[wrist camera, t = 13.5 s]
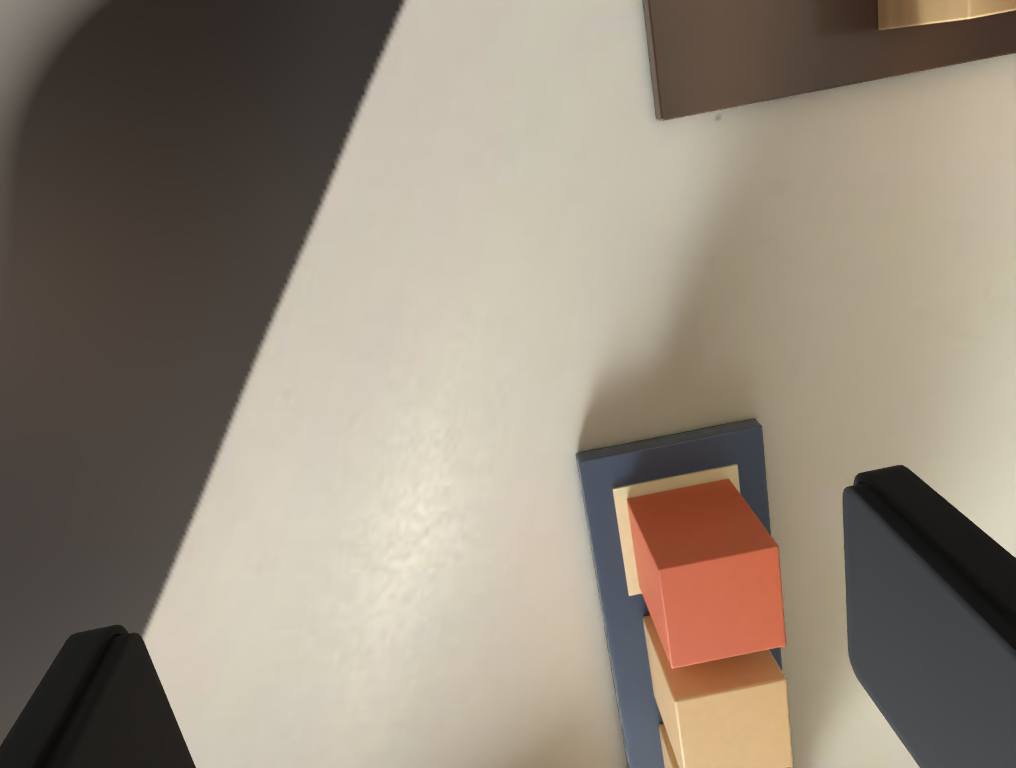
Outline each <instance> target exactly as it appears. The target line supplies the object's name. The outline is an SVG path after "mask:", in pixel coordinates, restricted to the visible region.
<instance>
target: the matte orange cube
mask: <svg viewBox="0 0 1016 768" xmlns="http://www.w3.org/2000/svg"><path fill="white" fill-rule="evenodd" d="M627 506H628V513H629V520H630V527H631V534H632V541H633V547H634V554H635V561H636V568H637V575H638V581H639V587H640V590H641V592H642V595H643V597H644V600H645V602H646V605H647V608H648V610H649V613H650V615H651V618H652V620H653V623H654V625H655V628H656V630H657V633H658V635H659V638H660V641H661V643H662V646H663V648H664V651H665V653H666V656H667V658H668V661H669V663H670V666H671V668H677V667H682V666H687V665H692V664H697V663H702V662H707V661H712V660H717V659H722V658H727V657H732V656H737V655H742V654H747V653H752V652H757V651H762V650H768V649H773V648H778V647H783V646H786V637H785V624H784V612H783V599H782V586H781V574H780V561H779V548H778V545H777V543H776V542H775V541H774V539H773V538H772V537H771V535H770V534H769V532H768V531H767V530H766V528H765V527H764V526H763V524H762V523H761V522H760V520H759V519H758V517H757V516H756V515H755V513H754V512H753V511H752V509H751V508H750V506H749V505H748V504H747V502H746V501H745V500H744V498H743V497H742V495H741V494H740V493H739V491H738V490H737V489H736V487H735V486H734V485H733V483H732V482H731V480H730V479H725V480H720V481H715V482H709V483H704V484H699V485H694V486H689V487H684V488H679V489H674V490H669V491H664V492H659V493H653V494H648V495H643V496H638V497H633V498H628V499H627Z"/></svg>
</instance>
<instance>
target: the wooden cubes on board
mask: <svg viewBox="0 0 1016 768" xmlns="http://www.w3.org/2000/svg"><path fill="white" fill-rule="evenodd" d="M643 8H644V17H645V25H646V34H647V43H648V52H649V61H650V69H651V78H652V87H653V96H654V105H655V114H656V119H657V120H663V121H664V120H669V119H674V118H679V117H685V116H690V115H695V114H700V113H705V112H711V111H716V110H721V109H726V108H731V107H737V106H742V105H747V104H752V103H757V102H763V101H768V100H773V99H778V98H784V97H789V96H794V95H799V94H804V93H810V92H815V91H820V90H825V89H830V88H836V87H841V86H846V85H851V84H856V83H862V82H867V81H872V80H877V79H882V78H888V77H893V76H898V75H903V74H908V73H914V72H919V71H924V70H929V69H935V68H940V67H945V66H950V65H955V64H961V63H966V62H971V61H976V60H981V59H987V58H992V57H997V56H1002V55H1007V54H1013V53H1016V0H643Z"/></svg>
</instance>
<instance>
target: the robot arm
mask: <svg viewBox="0 0 1016 768" xmlns="http://www.w3.org/2000/svg"><path fill="white" fill-rule="evenodd" d="M843 524H844V551H845V578H846V605H847V632H848V652H849V658H850V662H851V665H852V668H853V670H854V673H855V675H856V677H857V678H858V680H859V682H860V683H861V685H862V686H863V687H864V689H865V690H866V692H867V693H868V694H869V696H870V697H871V699H872V700H873V702H874V703H875V704H876V706H877V707H878V709H879V710H880V712H881V713H882V714H883V716H884V717H885V719H886V720H887V721H888V723H889V724H890V726H891V727H892V729H893V730H894V731H895V733H896V734H897V736H898V737H899V739H900V740H901V741H902V743H903V744H904V746H905V747H906V748H907V750H908V751H909V753H910V754H911V756H912V757H913V758H914V760H915V761H916V763H917V764H918V766H919V767H920V768H1016V558H1015V557H1014V556H1012V555H1011V554H1010V553H1009V552H1008V551H1006V550H1005V549H1004V548H1003V547H1002V546H1000V545H999V544H998V543H997V542H996V541H994V540H993V539H992V538H991V537H990V536H988V535H987V534H986V533H985V532H984V531H982V530H981V529H980V528H979V527H978V526H976V525H975V524H974V523H973V522H972V521H970V520H969V519H968V518H967V517H966V516H964V515H963V514H962V513H961V512H960V511H958V510H957V509H956V508H955V507H954V506H953V505H951V504H950V503H949V502H948V501H947V500H945V499H944V498H943V497H942V496H941V495H939V494H938V493H937V492H936V491H935V490H933V489H932V488H931V487H930V486H929V485H927V484H926V483H925V482H924V481H923V480H921V479H920V478H919V477H918V476H917V475H915V474H914V473H913V472H912V471H911V470H909V469H908V468H907V467H905V466H903V465H897V466H892V467H887V468H882V469H877V470H872V471H867V472H863V473H859V474H858V475H856V477H855V480H854V486H849V487H846V488H845V489H844V492H843ZM0 768H196V767H195V765H194V762H193V760H192V757H191V755H190V753H189V750H188V748H187V745H186V743H185V740H184V738H183V736H182V733H181V731H180V728H179V726H178V723H177V721H176V719H175V716H174V714H173V711H172V709H171V706H170V704H169V702H168V699H167V697H166V694H165V692H164V689H163V687H162V684H161V682H160V680H159V677H158V675H157V672H156V670H155V667H154V665H153V663H152V660H151V658H150V655H149V653H148V650H147V648H146V646H145V643H144V641H143V639H142V637H141V636H140V635H139V634H138V633H131V634H129V633H128V632H127V630H126V629H125V628H124V627H123V626H121V625H113V626H108V627H103V628H98V629H94V630H88V631H84V632H79V633H75V634H72V635H71V636H70V637H69V638H68V639H67V640H66V642H65V644H64V645H63V647H62V648H61V650H60V652H59V654H58V655H57V656H56V658H55V660H54V661H53V663H52V665H51V666H50V668H49V669H48V671H47V673H46V674H45V676H44V677H43V679H42V681H41V682H40V684H39V685H38V687H37V688H36V690H35V692H34V693H33V695H32V696H31V698H30V700H29V701H28V703H27V705H26V706H25V708H24V709H23V711H22V713H21V714H20V716H19V717H18V719H17V721H16V722H15V724H14V725H13V727H12V728H11V730H10V732H9V733H8V735H7V737H6V738H5V740H4V741H3V743H2V744H1V746H0Z"/></svg>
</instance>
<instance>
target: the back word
mask: <svg viewBox="0 0 1016 768" xmlns="http://www.w3.org/2000/svg"><path fill="white" fill-rule="evenodd" d="M576 459H577V465H578V471H579V477H580V483H581V489H582V495H583V501H584V507H585V513H586V519H587V525H588V531H589V537H590V543H591V549H592V555H593V561H594V567H595V573H596V579H597V585H598V591H599V597H600V603H601V609H602V615H603V621H604V627H605V633H606V639H607V645H608V651H609V657H610V663H611V669H612V675H613V681H614V687H615V693H616V699H617V705H618V711H619V717H620V723H621V729H622V735H623V741H624V747H625V753H626V759H627V765H628V768H790V767H792V766H793V756H792V744H791V731H790V719H789V706H788V694H787V681H786V678H785V676H784V674H783V672H782V664H781V652H780V647H778V648H773V649H768V650H762V651H757V652H752V653H747V654H742V655H737V656H732V657H727V658H722V659H717V660H712V661H707V662H702V663H697V664H692V665H687V666H682V667H677V668H671V666H670V663H669V661H668V658H667V656H666V653H665V651H664V648H663V646H662V643H661V641H660V638H659V635H658V633H657V630H656V628H655V625H654V623H653V620H652V618H651V615H650V613H649V610H648V608H647V605H646V602H645V600H644V597H643V595H642V592H641V590H640V587H639V581H638V575H637V568H636V561H635V554H634V547H633V541H632V534H631V527H630V520H629V513H628V506H627V499H628V498H633V497H638V496H643V495H648V494H653V493H659V492H664V491H669V490H674V489H679V488H684V487H689V486H694V485H699V484H704V483H709V482H715V481H720V480H725V479H730V480H731V482H732V483H733V485H734V486H735V487H736V489H737V490H738V491H739V493H740V494H741V495H742V497H743V498H744V500H745V501H746V502H747V504H748V505H749V506H750V508H751V509H752V511H753V512H754V513H755V515H756V516H757V517H758V519H759V520H760V522H761V523H762V524H763V526H764V527H765V528H766V530H767V531H768V532H769V534H770V535H771V530H770V518H769V506H768V493H767V481H766V469H765V457H764V444H763V432H762V426H761V425H760V424H759V423H758V422H757V421H756V419H751V420H746V421H741V422H735V423H730V424H725V425H720V426H715V427H710V428H705V429H700V430H695V431H689V432H684V433H679V434H674V435H669V436H664V437H659V438H654V439H649V440H643V441H638V442H633V443H628V444H623V445H618V446H613V447H608V448H603V449H598V450H592V451H587V452H582V453H577V454H576Z"/></svg>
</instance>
